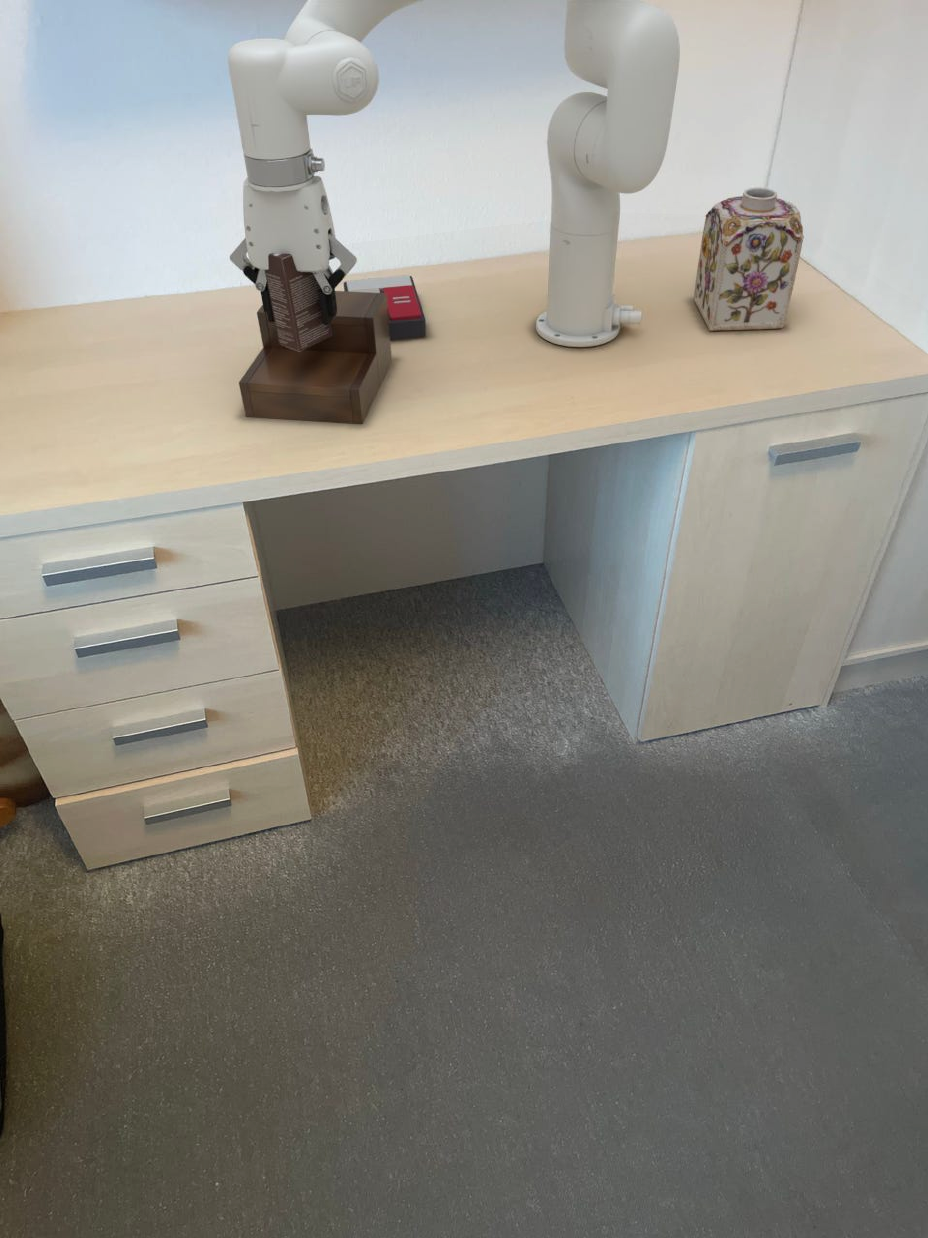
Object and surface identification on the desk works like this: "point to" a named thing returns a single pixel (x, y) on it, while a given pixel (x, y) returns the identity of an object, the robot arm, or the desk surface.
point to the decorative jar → (748, 261)
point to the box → (295, 304)
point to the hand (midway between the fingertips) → (301, 317)
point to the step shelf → (323, 366)
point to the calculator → (396, 304)
